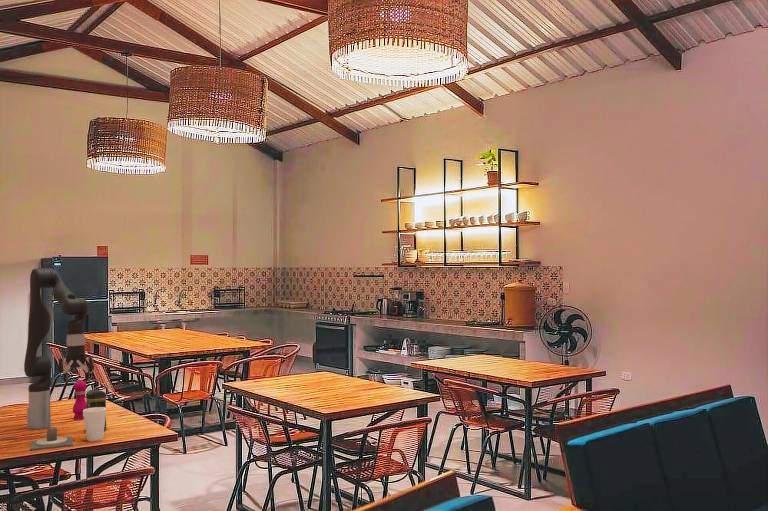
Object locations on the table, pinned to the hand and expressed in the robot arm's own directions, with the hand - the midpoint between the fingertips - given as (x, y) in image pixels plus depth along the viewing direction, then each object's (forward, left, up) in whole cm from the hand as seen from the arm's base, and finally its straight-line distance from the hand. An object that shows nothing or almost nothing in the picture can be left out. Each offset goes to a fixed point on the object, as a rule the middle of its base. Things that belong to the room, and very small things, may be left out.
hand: (76, 381), depth 321 cm
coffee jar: (+3, +15, -25) cm, 29 cm away
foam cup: (+9, -3, -25) cm, 27 cm away
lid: (-7, -9, -24) cm, 27 cm away
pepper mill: (-15, +43, -25) cm, 52 cm away
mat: (-7, -9, -25) cm, 27 cm away
